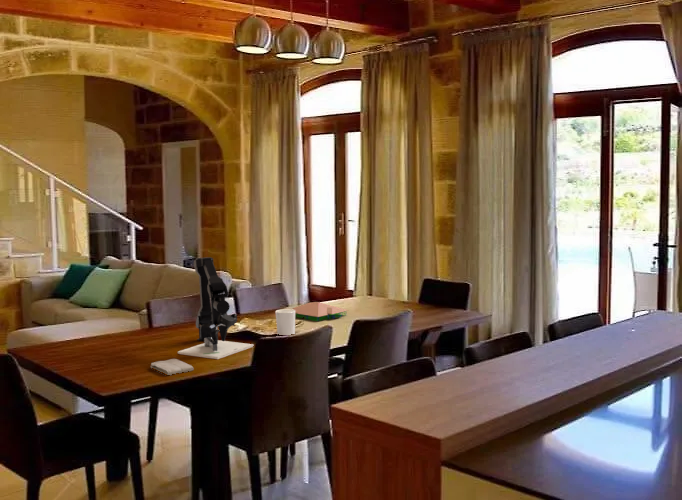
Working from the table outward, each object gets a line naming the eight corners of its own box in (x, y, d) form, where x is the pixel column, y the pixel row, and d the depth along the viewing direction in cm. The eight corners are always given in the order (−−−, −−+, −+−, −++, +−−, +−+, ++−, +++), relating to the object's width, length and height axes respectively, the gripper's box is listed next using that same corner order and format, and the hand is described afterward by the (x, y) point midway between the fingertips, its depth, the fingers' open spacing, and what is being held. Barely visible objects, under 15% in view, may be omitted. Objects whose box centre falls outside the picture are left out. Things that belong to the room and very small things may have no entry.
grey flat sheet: (177, 353, 323) (177, 351, 322) (214, 341, 344) (214, 339, 344) (217, 359, 311) (217, 356, 311) (253, 346, 332) (253, 344, 332)
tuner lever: (203, 345, 332) (203, 337, 332) (212, 344, 334) (212, 336, 334) (210, 352, 317) (210, 344, 317) (219, 351, 319) (219, 343, 318)
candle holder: (278, 338, 348) (277, 313, 347) (274, 333, 358) (273, 309, 356) (298, 336, 351) (297, 311, 350) (294, 332, 360) (293, 308, 359)
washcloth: (174, 363, 307) (174, 356, 307) (195, 371, 294) (194, 364, 293) (148, 369, 300) (147, 361, 300) (168, 377, 286) (167, 370, 286)
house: (321, 323, 382) (321, 308, 381) (281, 316, 405) (280, 301, 404) (352, 316, 398) (351, 301, 397) (311, 310, 421) (311, 296, 420)
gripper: (218, 315, 313) (220, 350, 316) (244, 305, 329) (246, 339, 332) (198, 313, 319) (201, 347, 321) (225, 303, 335) (227, 336, 337)
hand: (220, 342), depth 328 cm, fingers open, 4 cm apart
